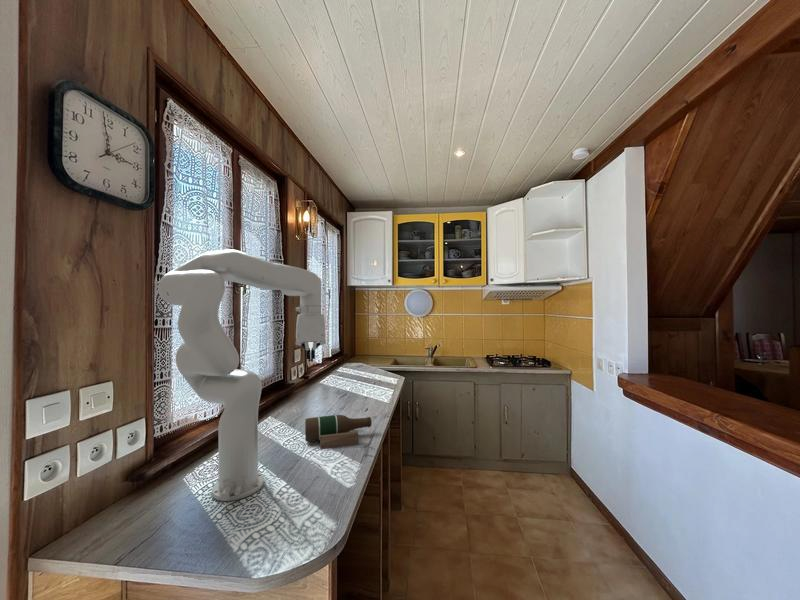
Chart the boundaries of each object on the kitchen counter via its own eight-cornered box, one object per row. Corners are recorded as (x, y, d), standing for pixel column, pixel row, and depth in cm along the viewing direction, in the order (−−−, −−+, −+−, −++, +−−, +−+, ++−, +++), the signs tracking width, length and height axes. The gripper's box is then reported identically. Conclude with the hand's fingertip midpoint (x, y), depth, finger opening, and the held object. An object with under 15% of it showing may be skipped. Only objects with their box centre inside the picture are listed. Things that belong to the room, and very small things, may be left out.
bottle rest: (358, 444, 113) (358, 432, 113) (320, 448, 110) (320, 437, 110) (353, 429, 127) (353, 419, 127) (319, 433, 123) (319, 422, 123)
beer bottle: (305, 441, 117) (369, 433, 124) (305, 441, 110) (373, 432, 117) (305, 419, 120) (368, 412, 127) (305, 417, 113) (372, 410, 120)
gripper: (288, 310, 111) (288, 363, 110) (332, 310, 115) (332, 361, 114) (289, 310, 118) (289, 360, 117) (331, 310, 122) (331, 358, 121)
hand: (310, 361), depth 116 cm, fingers closed
